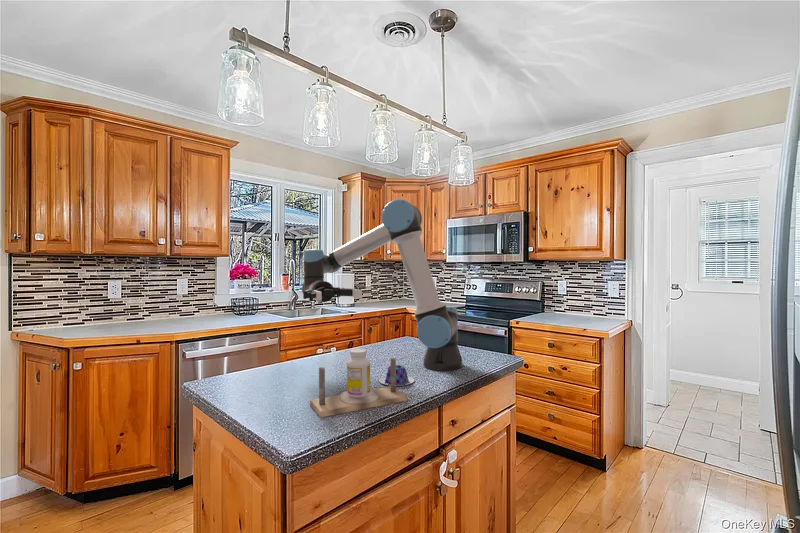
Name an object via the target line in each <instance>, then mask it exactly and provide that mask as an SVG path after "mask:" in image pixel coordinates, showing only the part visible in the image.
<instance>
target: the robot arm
mask: <svg viewBox="0 0 800 533" xmlns="http://www.w3.org/2000/svg"><path fill="white" fill-rule="evenodd" d="M381 212H382V213H381V221H382V222H381V223H382V224H380V225H378V226H377V227H375V228H373V229H371V230H369V231H367V232H366V233H364V234H361V235H360V236H359V237H357V238H355V239H352V240H351V241H348V242H347V243H345V244H343V245H342V246H340V247H337V248H336V249H334V250H333V251H331V252H329V253H327V254H325V252H324V250H323V249H319V248H317V249H315V248H313V249H311V248H309V249H305V250H304V252H303V253H304V254H303V284H302V285H301V293H302V294H303V298H302V299H304V300H307V299H308V300H309V302H313V301H317V302H318V303H328V302H329V301H331V300H332V299H334V298H341V297H352V298H357V299H363V290H362V289H361V288H358V286H354V288H347V287H335V286H333V284H332V283H331V282H329V281H325V280H324V278H325V274H333V273H336V272H338V271H339V270H341V268H342V267H344V266H346V265H348V264H350V263H352V262H354V261H356V260H357V259H359V258H361V257H364V256H365V255H367V254H369V253H372V252H373V251H375V250H377V249H379V248H381V247H382V246H384V245H386V244H388V243H390V242H392V243H394V244H396V245H397V248H398V251H399V255H400V258H401V262H402V264H403V268H404V270H405V274H406V277H407V278H406V279H407V280H408V284H409V286H410V290H411V292H412V296H413V300H414V303H415V306H416V309H415V312H414V317H415V320H416V324H417V325H416V334H417V338H418V340H419V341H420V342H421V344H422V345H424V346H426V347H427V348H426V351H425V354H424V357H423V364H422V365H423V367H424V368H426V369H429V370H432V371H445V372H446V371H447V372H449V371H455V370H456V371H457V370H460V369H462V368H463V359H462V356H461V355H462V354H461V352H460V348H459V338H458V337H459V333H458V331H459V325H458V323H459V321H458V320H459V318H458V317H459V313H458V308H456V307H453V306H447V305H446V304H445V303H444V302H443V301H441V300H440V297H439V294H438V290H437V288H436V284H435V282H434V278H433V275H432V272H431V268H430V264H429V262H428V259H427V257H426V256H427V255H426V253H425V250H424V246H423V243H422V240H421V237H422V234H423V230H422V223H423V222H422V220H423V216H422V213H421V211H420V210H419V208H418V207H417V206H416V205H413V204H412V203H411V202H409V201H407V200H406V199H393V200H391V201H388V203H387V204H386V205H384V208H383V209H382V211H381Z"/></svg>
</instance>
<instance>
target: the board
mask: <svg viewBox="0 0 800 533" xmlns="http://www.w3.org/2000/svg"><path fill="white" fill-rule="evenodd" d="M389 359H390V360H389V361H390V370H391V386H390V385H388V386H384V387H378V388H372V389H370V395H369V396H367V397H363V398H352V397H350V396H348V392H347V390H345V391H343V392H342V393H340V394H337V395H331V396H326V368H325V367H323V366H322V367H318V398H315V399H310V400H309V406H310V407H311V408H312V410H314V412H315V413H316V414H317V415H318V416H319V417H320V418H324V417H325V418H326V417H329V416H334V415H339V414H344V413H345V414H346V413H350V412H354V411H361V410H365V409H369V408H375V407H380V406H386V405H391V404H396V403H397V404H398V403H400V402H406V401H408V395H407V394H406V393H404V392H402V391H401V390H399V389H397V386H396V365H397V364H396V363H397V361H396V357H391V358H389Z"/></svg>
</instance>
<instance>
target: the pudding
mask: <svg viewBox="0 0 800 533" xmlns="http://www.w3.org/2000/svg"><path fill="white" fill-rule="evenodd" d="M384 380H385V381H384ZM378 382H379V383H380V384H383V385H385V386H391V370H390V366H388V368H387V371H386V375H385V376H382V377H381V378H379V380H378ZM384 382H385V383H386V384H385V383H384ZM408 382H409V383H408ZM414 382H415V379H414V378H413V377H411V376H410V375H408V373H407V369H406V367H405V366H404V365H400V364H396V387H398V386H399V387H400V386H403V385H404V384H405V385H404V386H407V385H410V384H412V383H414ZM387 383H388V384H390V385H388V384H387ZM406 383H407V384H406ZM401 384H402V385H401Z"/></svg>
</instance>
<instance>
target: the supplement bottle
mask: <svg viewBox="0 0 800 533" xmlns="http://www.w3.org/2000/svg"><path fill="white" fill-rule="evenodd" d="M349 355H350V358H349V359H348V360H347V362H346V378H347V379H346V380H347V388H346V391H347V392H348V396H350V397H352V398H363V397H367V396H369V395H370V390H371V360H370V359H369V358H367V357H366V356H367V349H364V348H354V349H350V351H349Z"/></svg>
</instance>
